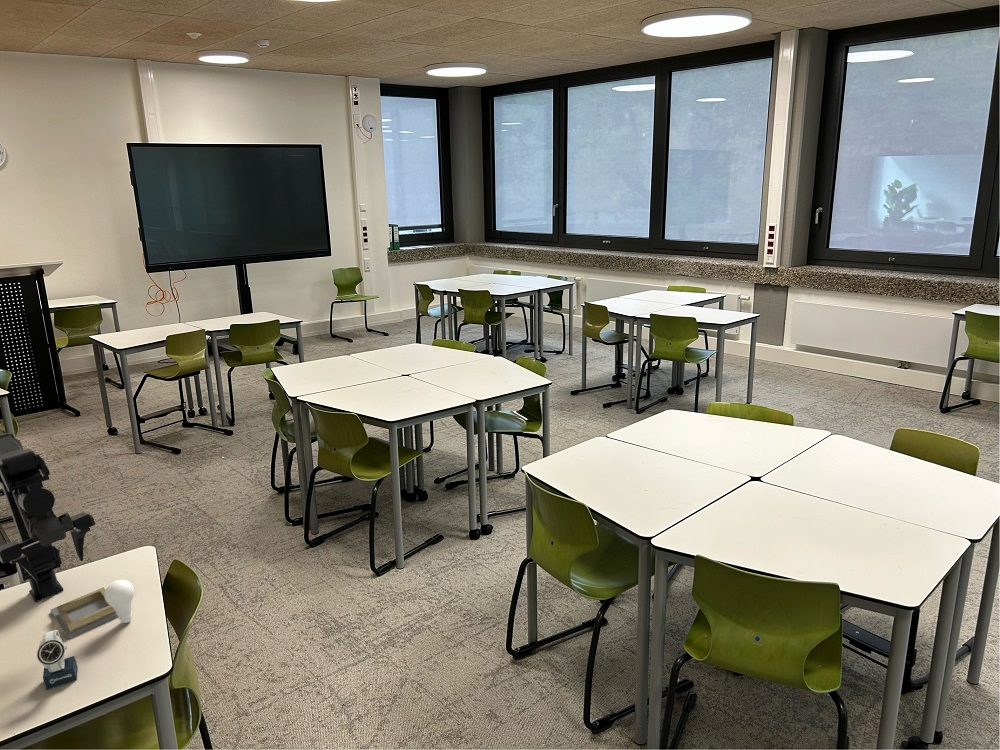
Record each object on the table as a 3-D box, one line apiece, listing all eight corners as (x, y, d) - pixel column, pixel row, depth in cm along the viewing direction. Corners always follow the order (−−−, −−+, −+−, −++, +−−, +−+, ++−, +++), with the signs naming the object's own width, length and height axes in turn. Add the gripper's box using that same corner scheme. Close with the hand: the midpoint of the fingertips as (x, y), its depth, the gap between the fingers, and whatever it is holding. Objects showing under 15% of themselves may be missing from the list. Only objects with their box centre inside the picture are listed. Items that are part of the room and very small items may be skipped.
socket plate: (51, 612, 172) (48, 602, 171) (104, 589, 180) (101, 580, 179) (68, 639, 162) (65, 628, 161) (123, 614, 170) (121, 604, 169)
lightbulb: (129, 631, 163) (118, 590, 160) (106, 629, 164) (95, 589, 161) (146, 614, 169) (136, 575, 166) (124, 613, 170) (114, 573, 167)
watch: (45, 695, 145) (31, 651, 141) (49, 672, 152) (35, 629, 148) (76, 685, 147) (63, 641, 144) (78, 662, 154) (66, 620, 151)
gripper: (-6, 532, 145) (22, 599, 148) (90, 493, 158) (114, 556, 161) (-17, 525, 153) (10, 589, 156) (75, 489, 166) (99, 548, 169)
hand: (60, 570), depth 160 cm, fingers open, 9 cm apart
